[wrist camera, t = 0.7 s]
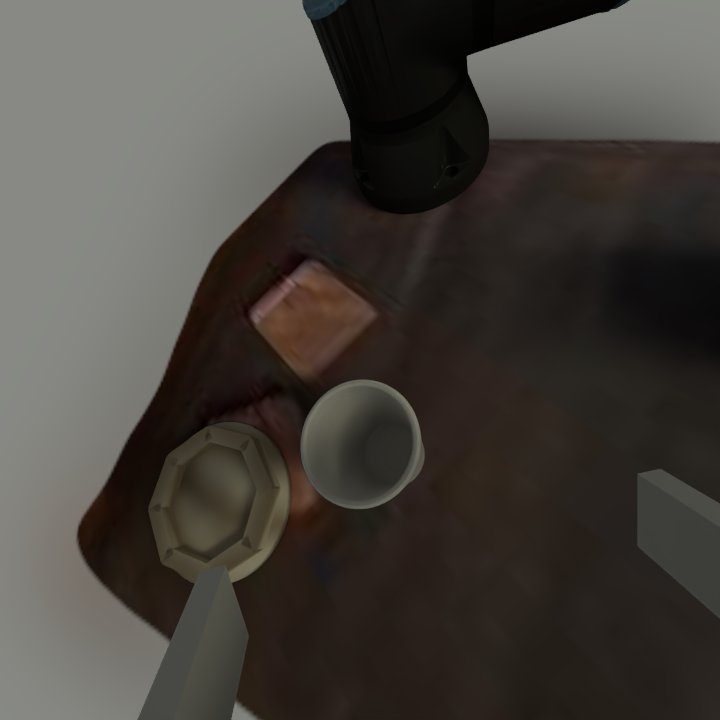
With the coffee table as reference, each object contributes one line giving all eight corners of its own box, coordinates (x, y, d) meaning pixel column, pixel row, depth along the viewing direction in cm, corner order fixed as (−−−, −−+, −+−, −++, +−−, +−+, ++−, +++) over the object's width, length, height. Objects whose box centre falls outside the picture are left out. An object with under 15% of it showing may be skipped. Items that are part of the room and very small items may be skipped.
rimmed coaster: (193, 411, 42) (176, 407, 40) (309, 439, 36) (297, 436, 34) (143, 554, 38) (121, 558, 36) (263, 609, 33) (246, 618, 30)
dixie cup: (334, 438, 35) (280, 421, 26) (407, 390, 35) (377, 355, 26) (377, 522, 32) (332, 535, 23) (460, 470, 31) (446, 462, 22)
